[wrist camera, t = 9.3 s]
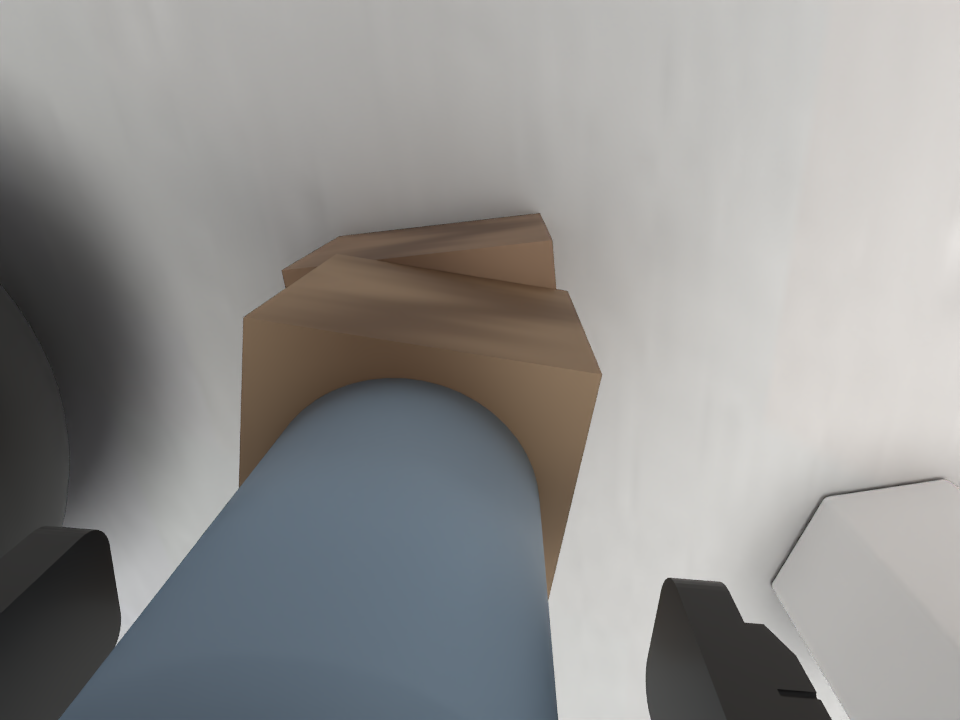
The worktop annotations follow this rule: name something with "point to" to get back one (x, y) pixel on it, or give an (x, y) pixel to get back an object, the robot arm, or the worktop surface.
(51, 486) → the coal bowl
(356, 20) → the worktop surface
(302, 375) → the tower mid
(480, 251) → the tower base
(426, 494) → the blue grey cylinder
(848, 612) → the jar
